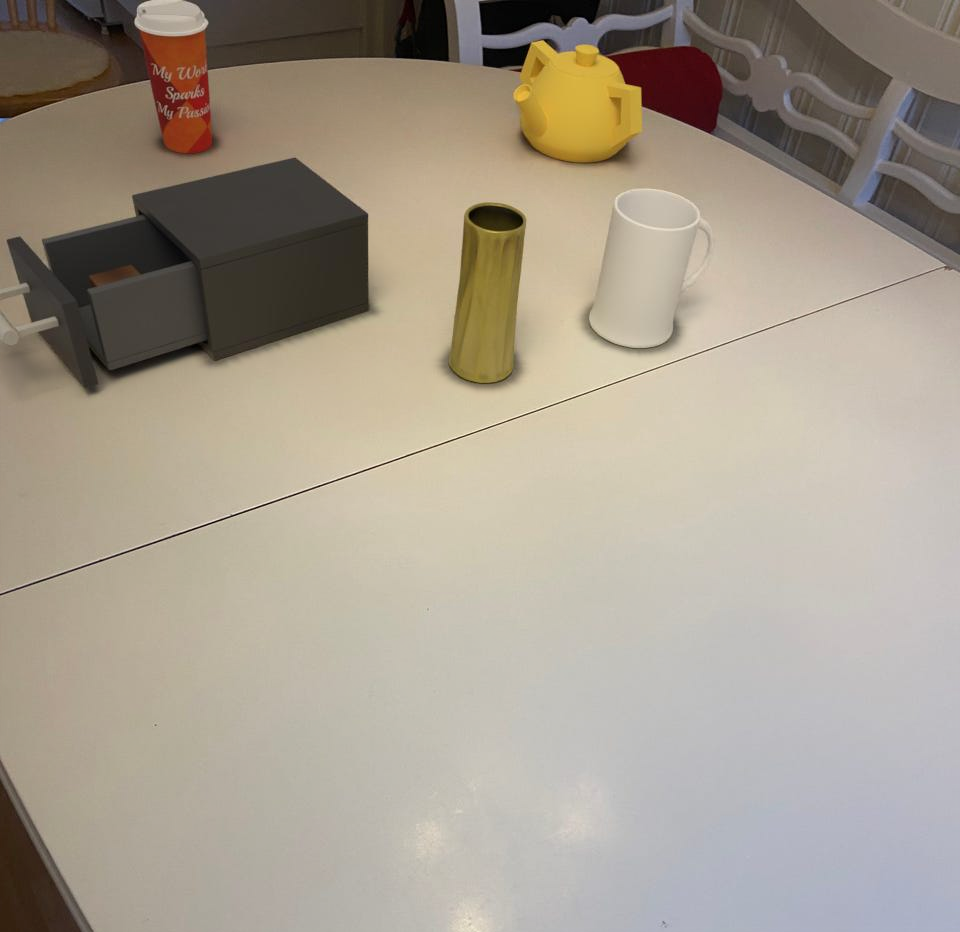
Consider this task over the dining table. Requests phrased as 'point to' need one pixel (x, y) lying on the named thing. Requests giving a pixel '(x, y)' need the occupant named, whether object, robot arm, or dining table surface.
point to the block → (112, 276)
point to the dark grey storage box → (266, 251)
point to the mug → (646, 266)
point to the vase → (488, 292)
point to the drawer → (107, 296)
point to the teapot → (576, 104)
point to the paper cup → (177, 71)
